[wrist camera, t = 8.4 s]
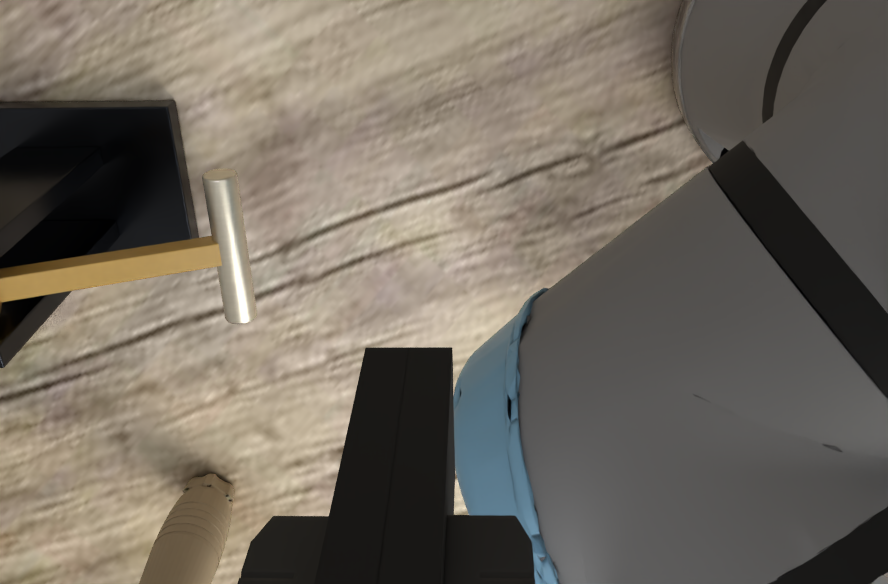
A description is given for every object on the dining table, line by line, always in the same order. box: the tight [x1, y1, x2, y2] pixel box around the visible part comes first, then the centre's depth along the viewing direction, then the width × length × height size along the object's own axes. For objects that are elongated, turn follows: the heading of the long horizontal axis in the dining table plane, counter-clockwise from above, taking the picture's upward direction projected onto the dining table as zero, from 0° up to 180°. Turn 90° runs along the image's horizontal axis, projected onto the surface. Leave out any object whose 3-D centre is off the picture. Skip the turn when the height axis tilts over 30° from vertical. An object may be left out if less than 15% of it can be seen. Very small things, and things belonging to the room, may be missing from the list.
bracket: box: [0, 100, 199, 368], centre depth 39 cm, size 12×9×14 cm
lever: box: [0, 169, 257, 324], centre depth 36 cm, size 13×7×2 cm, turn 91°
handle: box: [139, 473, 235, 584], centre depth 48 cm, size 5×6×15 cm
